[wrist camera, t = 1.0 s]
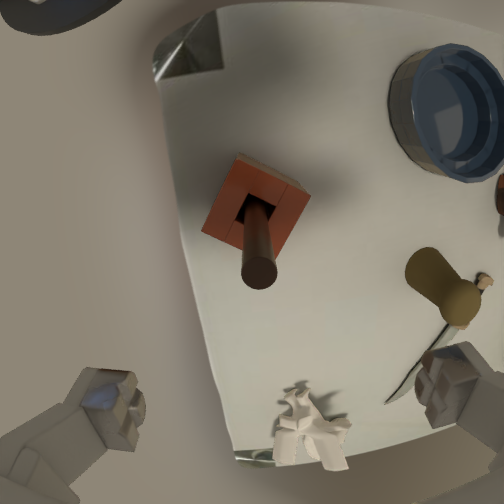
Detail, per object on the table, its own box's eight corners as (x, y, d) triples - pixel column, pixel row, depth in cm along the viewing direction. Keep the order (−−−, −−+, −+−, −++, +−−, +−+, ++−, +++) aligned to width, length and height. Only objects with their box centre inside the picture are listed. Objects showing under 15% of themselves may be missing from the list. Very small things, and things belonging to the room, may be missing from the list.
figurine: (286, 371, 53) (315, 432, 53) (241, 409, 45) (278, 472, 44) (360, 363, 43) (386, 433, 42) (320, 412, 34) (354, 484, 34)
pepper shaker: (414, 243, 37) (460, 281, 27) (448, 251, 37) (496, 288, 27) (398, 286, 39) (437, 333, 29) (433, 291, 39) (473, 335, 29)
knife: (399, 409, 47) (381, 407, 46) (396, 402, 49) (377, 400, 47) (500, 284, 38) (487, 274, 36) (494, 279, 39) (480, 269, 38)
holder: (211, 209, 35) (200, 231, 28) (239, 151, 33) (236, 157, 26) (267, 236, 36) (272, 264, 29) (297, 181, 34) (311, 195, 27)
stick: (242, 198, 35) (235, 281, 16) (250, 184, 34) (251, 250, 16) (257, 205, 35) (267, 295, 17) (265, 191, 35) (283, 266, 16)
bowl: (365, 129, 32) (387, 129, 26) (415, 29, 27) (440, 17, 22) (457, 196, 35) (484, 208, 29) (498, 103, 30) (527, 104, 24)
